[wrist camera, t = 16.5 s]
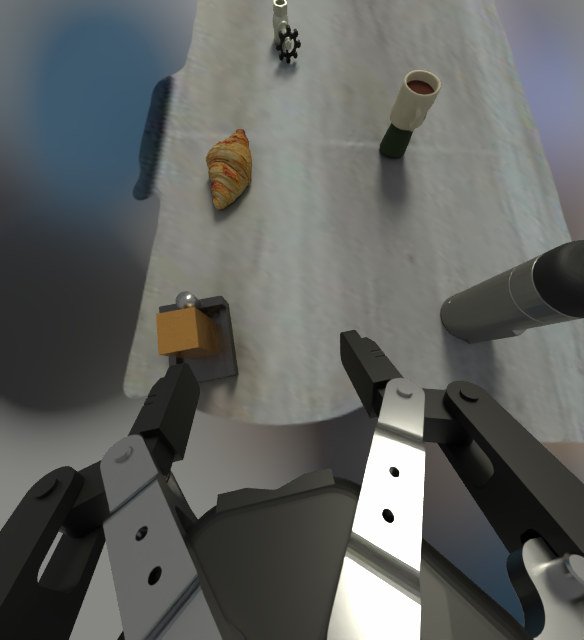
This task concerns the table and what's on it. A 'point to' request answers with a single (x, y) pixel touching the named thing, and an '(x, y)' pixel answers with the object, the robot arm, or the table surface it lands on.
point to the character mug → (409, 110)
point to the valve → (283, 31)
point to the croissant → (229, 168)
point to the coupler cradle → (226, 359)
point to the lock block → (186, 334)
